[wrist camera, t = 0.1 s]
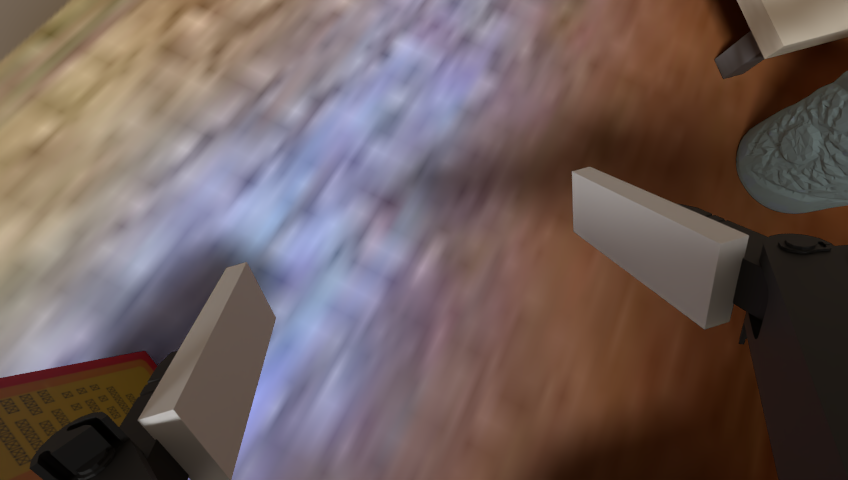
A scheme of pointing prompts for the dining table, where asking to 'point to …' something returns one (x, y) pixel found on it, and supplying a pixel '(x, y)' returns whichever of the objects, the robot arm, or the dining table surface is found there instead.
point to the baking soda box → (63, 403)
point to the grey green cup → (800, 154)
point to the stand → (783, 30)
